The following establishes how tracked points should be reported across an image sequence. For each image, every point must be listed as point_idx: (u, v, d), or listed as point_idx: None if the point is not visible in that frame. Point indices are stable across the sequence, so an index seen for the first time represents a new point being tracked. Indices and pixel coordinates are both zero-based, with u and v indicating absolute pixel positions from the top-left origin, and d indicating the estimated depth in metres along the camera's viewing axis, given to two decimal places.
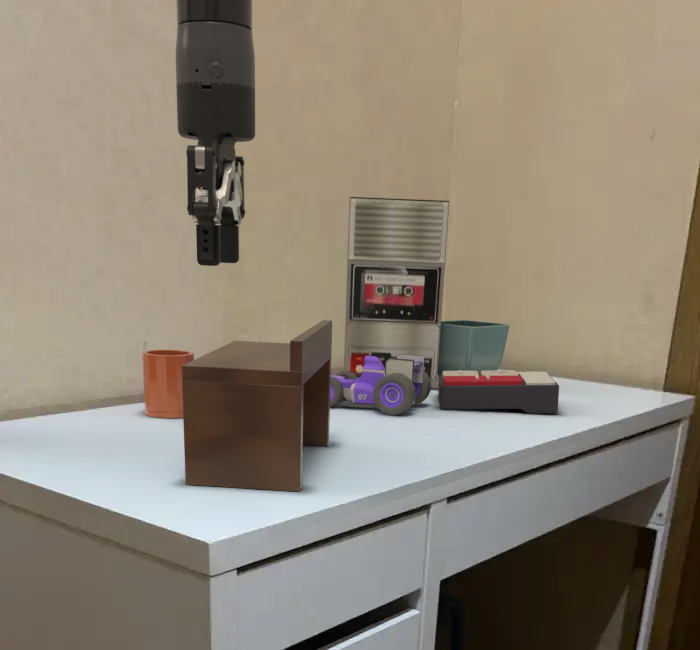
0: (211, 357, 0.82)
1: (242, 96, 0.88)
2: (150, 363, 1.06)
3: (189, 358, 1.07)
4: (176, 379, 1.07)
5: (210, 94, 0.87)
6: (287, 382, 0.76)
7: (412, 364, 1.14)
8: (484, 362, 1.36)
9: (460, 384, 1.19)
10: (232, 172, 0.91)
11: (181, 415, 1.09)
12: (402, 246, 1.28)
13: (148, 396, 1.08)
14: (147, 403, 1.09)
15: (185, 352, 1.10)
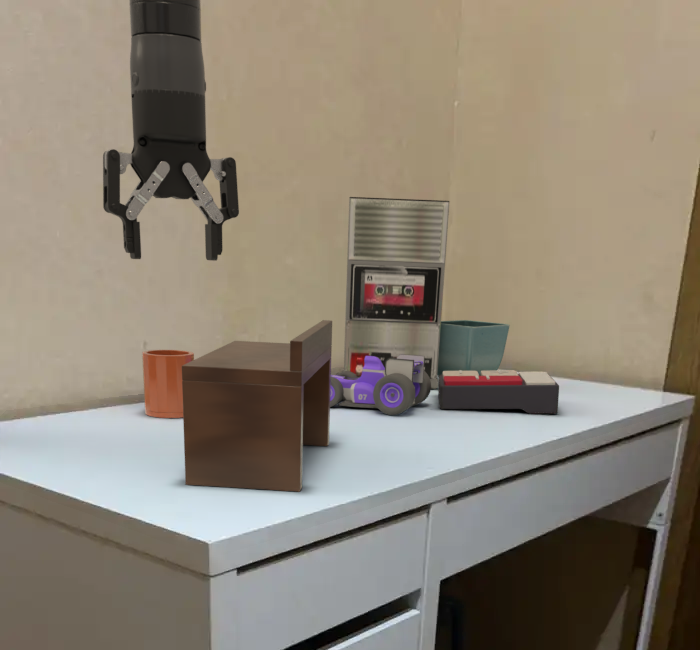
0: (211, 357, 0.82)
1: (155, 100, 0.93)
2: (150, 363, 1.06)
3: (189, 358, 1.07)
4: (176, 379, 1.07)
5: (133, 102, 0.95)
6: (287, 382, 0.76)
7: (412, 364, 1.14)
8: (484, 362, 1.36)
9: (460, 384, 1.19)
10: (158, 172, 0.97)
11: (181, 415, 1.09)
12: (402, 246, 1.28)
13: (148, 396, 1.08)
14: (147, 403, 1.09)
15: (185, 352, 1.10)
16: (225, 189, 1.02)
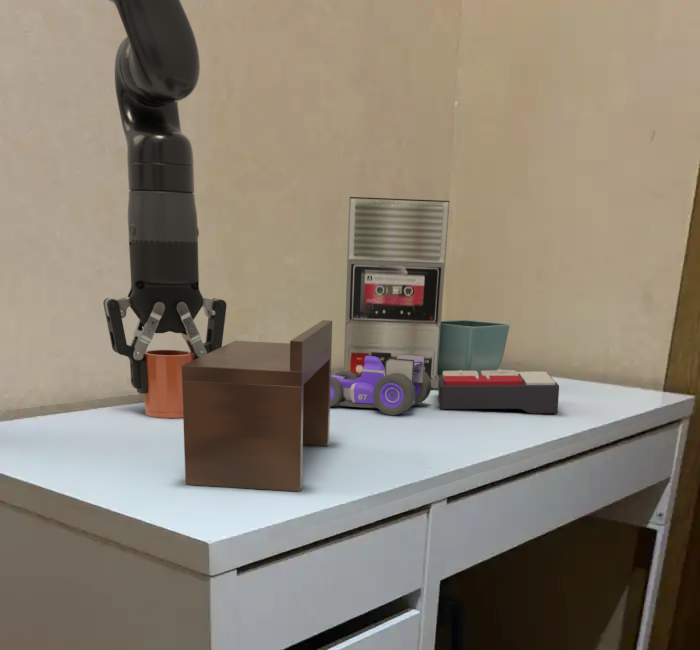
0: (211, 357, 0.82)
1: (152, 249, 1.00)
2: (150, 363, 1.06)
3: (189, 358, 1.07)
4: (176, 379, 1.07)
5: (131, 249, 1.02)
6: (287, 382, 0.76)
7: (412, 364, 1.14)
8: (484, 362, 1.36)
9: (460, 384, 1.19)
10: (155, 313, 1.04)
11: (181, 415, 1.09)
12: (402, 246, 1.28)
13: (148, 396, 1.08)
14: (147, 403, 1.09)
15: (185, 352, 1.10)
16: (212, 326, 1.09)
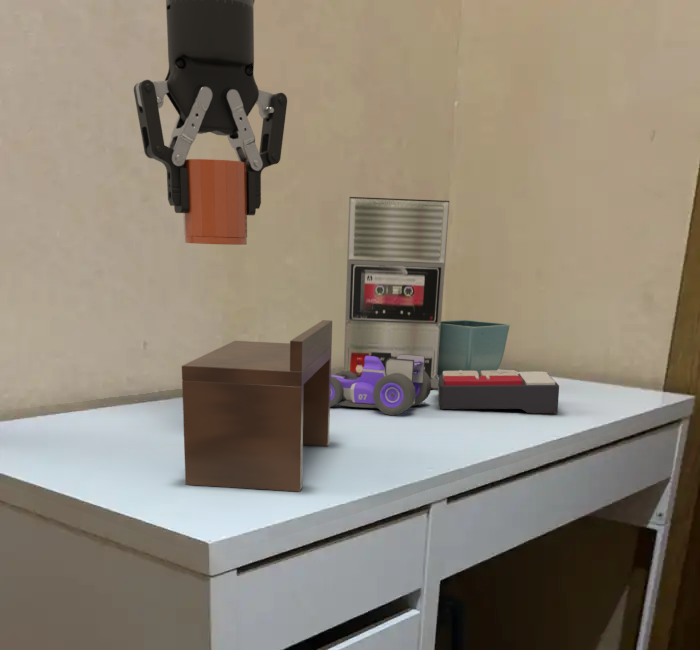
0: (211, 357, 0.82)
1: (198, 10, 0.78)
2: (193, 171, 0.84)
3: (241, 166, 0.85)
4: (226, 192, 0.84)
5: (170, 14, 0.80)
6: (287, 382, 0.76)
7: (412, 364, 1.14)
8: (484, 362, 1.36)
9: (460, 384, 1.19)
10: (200, 101, 0.82)
11: (231, 241, 0.86)
12: (402, 246, 1.28)
13: (190, 216, 0.86)
14: (188, 226, 0.86)
15: None
16: (269, 129, 0.86)
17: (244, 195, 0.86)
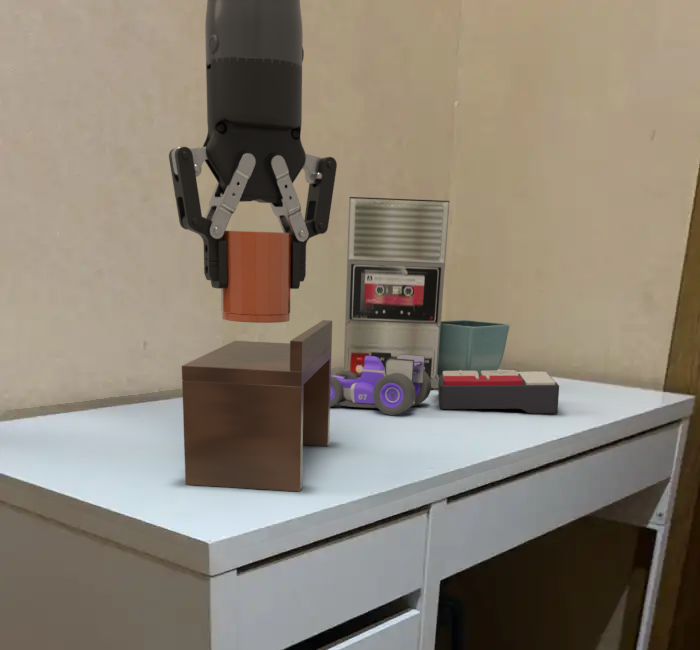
0: (211, 357, 0.82)
1: (241, 71, 0.70)
2: (232, 243, 0.76)
3: (286, 238, 0.77)
4: (268, 267, 0.77)
5: (210, 75, 0.72)
6: (287, 382, 0.76)
7: (412, 364, 1.14)
8: (484, 362, 1.36)
9: (460, 384, 1.19)
10: (242, 169, 0.74)
11: (273, 319, 0.78)
12: (402, 246, 1.28)
13: (228, 292, 0.78)
14: (226, 303, 0.78)
15: None
16: (316, 196, 0.78)
17: (288, 268, 0.78)
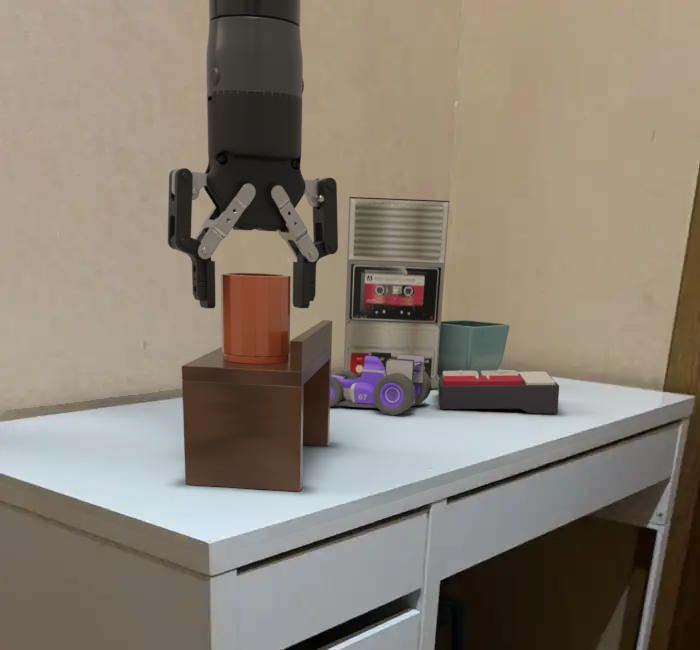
0: (211, 357, 0.82)
1: (242, 104, 0.71)
2: (233, 287, 0.77)
3: (286, 281, 0.78)
4: (268, 310, 0.78)
5: (211, 106, 0.73)
6: (287, 382, 0.76)
7: (412, 364, 1.14)
8: (484, 362, 1.36)
9: (460, 384, 1.19)
10: (241, 198, 0.75)
11: (273, 360, 0.80)
12: (402, 245, 1.28)
13: (229, 334, 0.79)
14: (227, 344, 0.80)
15: (277, 276, 0.81)
16: (321, 218, 0.79)
17: (288, 310, 0.80)
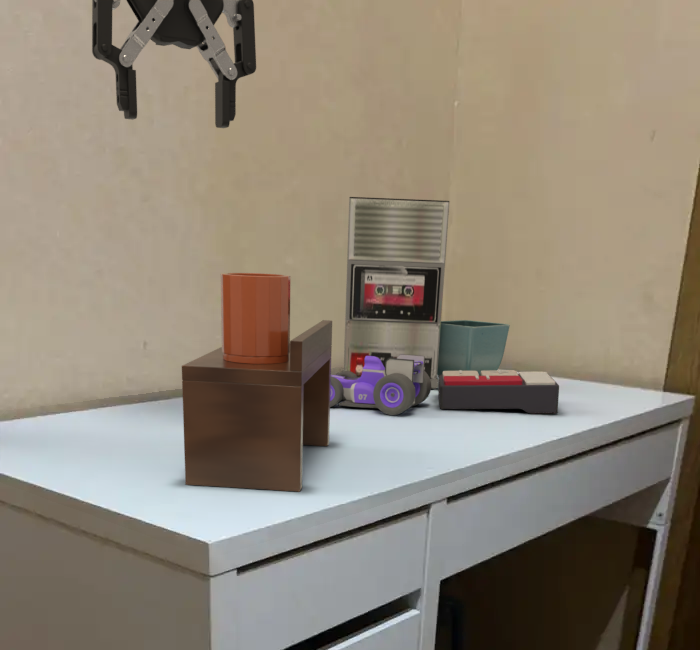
0: (211, 357, 0.82)
1: None
2: (233, 287, 0.77)
3: (286, 281, 0.78)
4: (268, 310, 0.78)
5: None
6: (287, 382, 0.76)
7: (412, 364, 1.14)
8: (484, 362, 1.36)
9: (460, 384, 1.19)
10: (159, 7, 0.79)
11: (273, 360, 0.80)
12: (402, 245, 1.28)
13: (229, 334, 0.79)
14: (227, 344, 0.80)
15: (277, 276, 0.81)
16: (240, 38, 0.84)
17: (288, 310, 0.80)
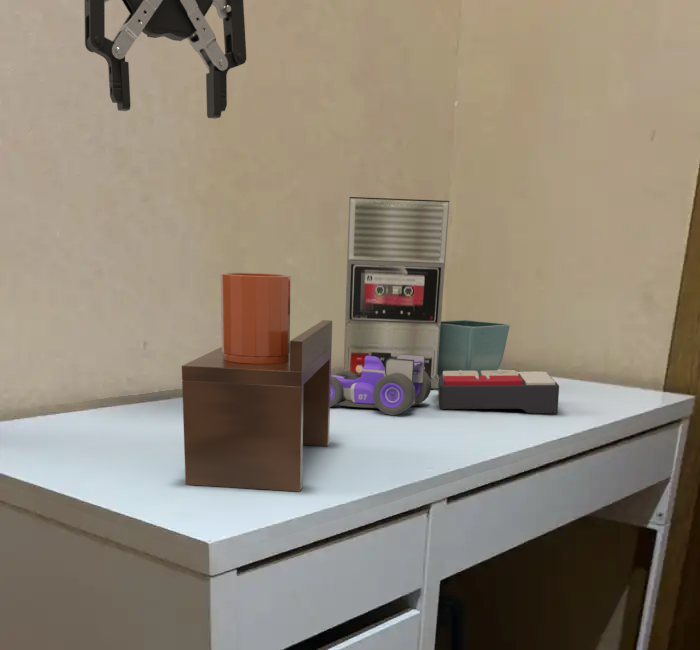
0: (211, 357, 0.82)
1: None
2: (233, 287, 0.77)
3: (286, 281, 0.78)
4: (268, 310, 0.78)
5: None
6: (287, 382, 0.76)
7: (412, 364, 1.14)
8: (484, 362, 1.36)
9: (460, 384, 1.19)
10: None
11: (273, 360, 0.80)
12: (402, 245, 1.28)
13: (229, 334, 0.79)
14: (227, 344, 0.80)
15: (277, 276, 0.81)
16: (230, 29, 0.86)
17: (288, 310, 0.80)
